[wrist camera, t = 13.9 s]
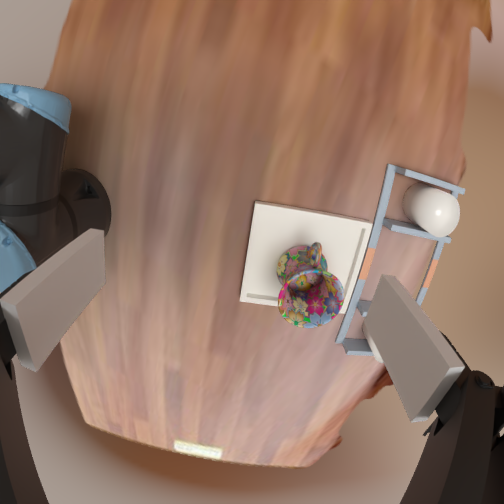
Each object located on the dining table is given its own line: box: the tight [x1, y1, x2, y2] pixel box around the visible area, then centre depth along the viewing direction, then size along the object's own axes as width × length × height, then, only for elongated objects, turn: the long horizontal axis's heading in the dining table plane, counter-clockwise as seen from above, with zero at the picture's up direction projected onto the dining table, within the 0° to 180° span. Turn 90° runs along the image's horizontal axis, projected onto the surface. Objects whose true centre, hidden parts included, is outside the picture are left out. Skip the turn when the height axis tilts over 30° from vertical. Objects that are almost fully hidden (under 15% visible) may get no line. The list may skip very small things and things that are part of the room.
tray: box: [240, 200, 373, 314], centre depth 49 cm, size 19×17×2 cm
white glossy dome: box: [403, 183, 460, 237], centre depth 42 cm, size 7×7×8 cm
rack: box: [335, 164, 465, 356], centre depth 49 cm, size 16×35×4 cm, turn 171°
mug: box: [277, 242, 344, 328], centre depth 45 cm, size 12×9×11 cm
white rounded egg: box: [362, 322, 384, 363], centre depth 52 cm, size 7×7×8 cm
